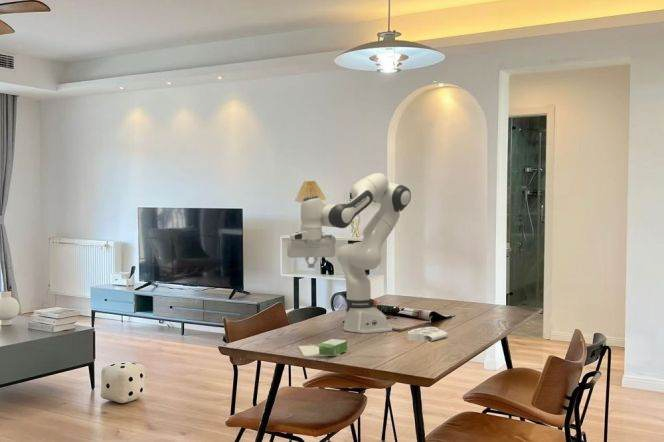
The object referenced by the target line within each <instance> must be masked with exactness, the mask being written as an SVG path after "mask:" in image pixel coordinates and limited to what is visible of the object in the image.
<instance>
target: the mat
mask: <svg viewBox="0 0 664 442" xmlns="http://www.w3.org/2000/svg"><path fill="white" fill-rule="evenodd" d="M315 345H316V344H315ZM315 345H314V344H313V345H298V346H297V347H298V350H299V351H300V353H301V355H302V357H303V358H314V357H315V358H316V357H318V358H319V357H335V356H341V353H339V354H337V355H328V354H321V353H319V347H317V346H315Z"/></svg>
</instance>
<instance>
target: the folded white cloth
mask: <svg viewBox="0 0 664 442" xmlns="http://www.w3.org/2000/svg"><path fill="white" fill-rule="evenodd" d="M447 337H449V334H448V332H446V331H445V330H441V329H440V328H439V327H436V326H426V327H418V328H415V329H410V330H409V331H407V340H408V341H412V340H414V341H415V342H416V341H418V340H419V341H423V340H424V342H428V341H429V340H430V341H429V343H430V342H433V341H438V340H441V339H445V338H447Z"/></svg>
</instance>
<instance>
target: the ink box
mask: <svg viewBox="0 0 664 442" xmlns="http://www.w3.org/2000/svg"><path fill="white" fill-rule="evenodd" d="M315 346H317V347H319V353H321V354H328V355H337V354H339V353H340V354H342V353H345V352H347V351H348V340H344V339H335V338H331V339H327V340H326V341H323V342H320V343H319V344H315Z"/></svg>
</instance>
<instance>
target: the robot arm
mask: <svg viewBox="0 0 664 442" xmlns="http://www.w3.org/2000/svg"><path fill="white" fill-rule="evenodd" d="M350 193H351V198H352V199H351V200H350V201H349V202H347V203H338V204H336V203H328V202H326V201H324V200H323V199H321V197H320V196H318V195H313V196H307V197H304V198H303V199H302V200H301V205H300V220H301V221H300V222H301V225H300V230H299V231H297V232H292V233H291V234H290V235H289V238H290V240H289V241H288V243H287V249H286V255H287V257H288V258H290V259H291V258H304V260H305V262H306V264H307V268H308V269H315V268H316V263H317V262H318V259H319V258H333V257H335V256H336V258H337V260H338V261H337V262H339V263H340V266H341V267H342V270H343V273H344V278H345V287H346V298H345V303H344V305H345V306H344V308H345V318H344V323H343V328H342V330H343V331H346V332H352V333H357V334H369V333H381V332H392V331H393V327H392V325H390V324H388V320H387V317H386V315H385V314H384V313H383V312H382V311H381V310H380V309H378V308H377V307H376V306H377V305H378V303H379V302H378V301H377V300H376V299H373V298H371V297H372V296H371V293H372V292H371V291H372V289H371V281H370V279H369V278H368V276H367V274H366V271H368V270H375V269H376V268H378V267H379V266H380V264H381V261H382V254H381V251H382V247H383V245H384V243H385V242H386V240H387V238H388V237H389V236H390V234H391V233H392V231H393V230H394V228H395V227H396V225H397V223H398V221H399V219H400V215H401V214H400V212H402V211H403V210H404V209H405V208H406V207H407V206H408V205H409V204H410V201H411V198H412V193H411V190H410V188H408V187H407V186H405V185H403V184H398V183H395V182H390V181H389V180H388V178H387V175H385V174H384V173H382V172H374V173H372V174H371V173H370V174H369V175H367V176H364V177H363V178H362V179H359V180H358V181H356V182H355V183H354V184H353V185H352V186H351V190H350ZM372 202H373V203H376V204H380V206H379V209H378V210H377V211H376V213H374V215H373V216H372V217H371V219H370V220H369V221H368V223H367V224H366V225H365V227H364V228H363V230H362V236H363V238H362V240H361V242H359V244H356V243H348V244H344V245H341V246H339V248H338V250H337V252H336V247H335V246H336V241H337V239H336V237H335V236H333V234H322V233H323V231H322V227H327V228H328V227H329V228H331V227H332V228H339V229H346V228H347V227H349V226H350V225H351V224H352V222H353V221H354V219H355V218H356V216H358V215H359V214H360V213H361V212H363V211H364V210H365V209H366V208H367V207H368V206H370V205H371V204H372ZM310 258H313V262H312V263H310V262H309V260H310ZM387 324H388V325H387ZM389 325H390V326H389ZM390 327H391V328H390Z"/></svg>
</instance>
